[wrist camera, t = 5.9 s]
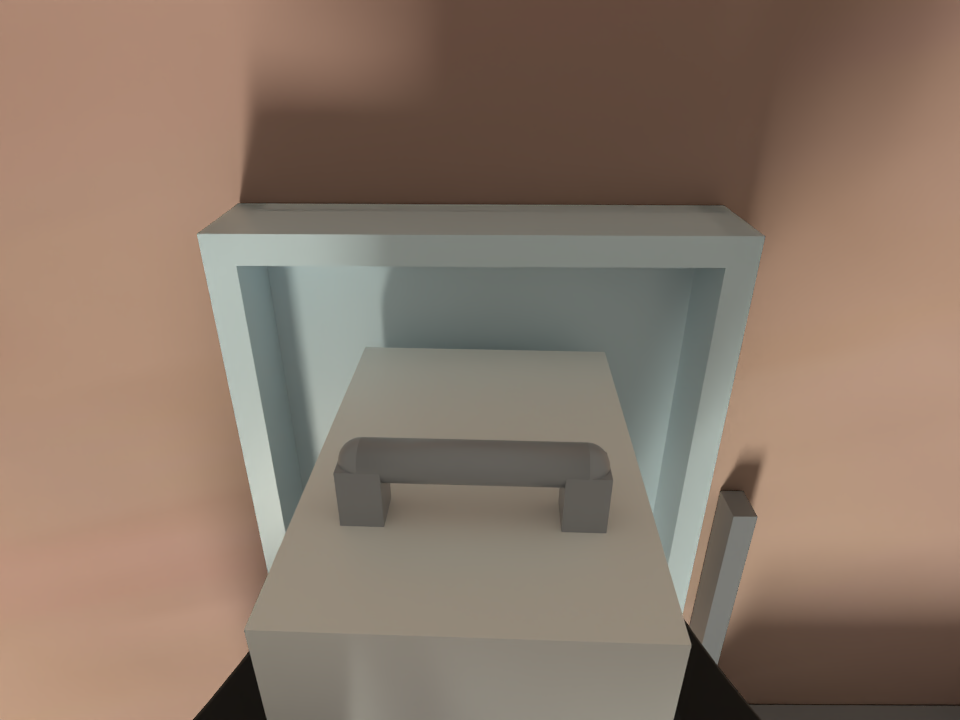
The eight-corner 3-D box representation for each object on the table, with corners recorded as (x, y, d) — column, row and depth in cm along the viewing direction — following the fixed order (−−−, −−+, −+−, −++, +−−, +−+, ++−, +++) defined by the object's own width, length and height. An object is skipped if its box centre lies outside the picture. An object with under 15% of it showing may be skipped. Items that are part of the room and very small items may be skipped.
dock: (1001, 717, 21) (1137, 897, 17) (668, 715, 21) (717, 895, 17) (1142, 492, 17) (1376, 659, 12) (720, 490, 17) (805, 656, 12)
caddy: (579, 617, 17) (621, 958, 11) (389, 611, 17) (324, 944, 11) (615, 298, 13) (720, 567, 6) (360, 293, 13) (223, 551, 7)
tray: (645, 634, 19) (663, 701, 18) (313, 632, 20) (294, 699, 18) (724, 205, 13) (765, 236, 11) (238, 203, 13) (196, 234, 11)
